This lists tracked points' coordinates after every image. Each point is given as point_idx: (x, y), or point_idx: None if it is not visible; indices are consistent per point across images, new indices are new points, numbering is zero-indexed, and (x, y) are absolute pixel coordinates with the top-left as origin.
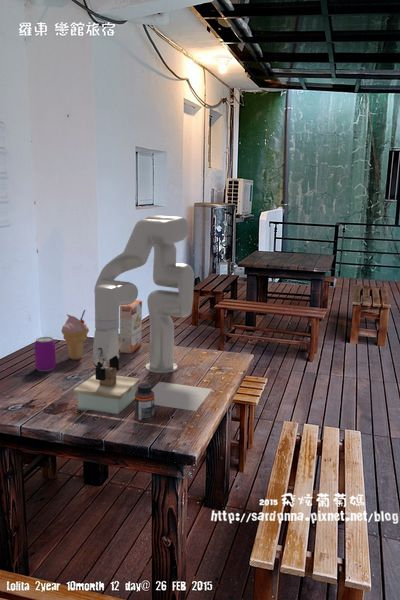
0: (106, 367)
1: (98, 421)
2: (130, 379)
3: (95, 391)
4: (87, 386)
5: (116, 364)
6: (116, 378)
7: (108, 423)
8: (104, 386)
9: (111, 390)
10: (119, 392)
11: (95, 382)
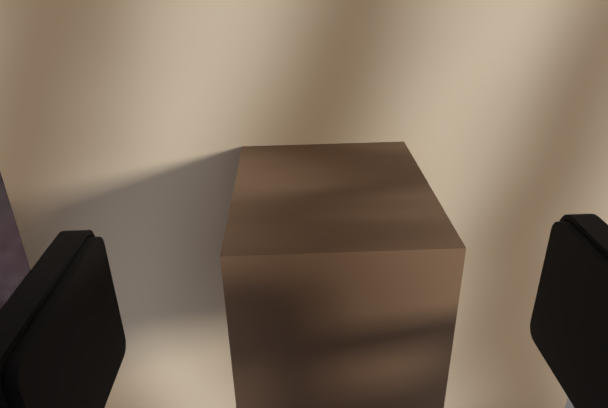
0: (421, 292)
1: (5, 204)
2: (524, 355)
3: (37, 200)
4: (121, 19)
5: (579, 391)
6: (523, 224)
7: (21, 275)
8: (227, 218)
9: (160, 328)
10: (152, 405)
11: (306, 48)
